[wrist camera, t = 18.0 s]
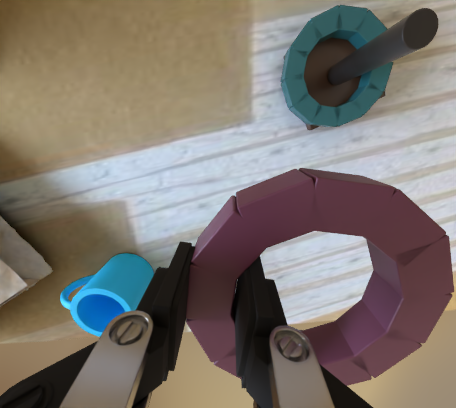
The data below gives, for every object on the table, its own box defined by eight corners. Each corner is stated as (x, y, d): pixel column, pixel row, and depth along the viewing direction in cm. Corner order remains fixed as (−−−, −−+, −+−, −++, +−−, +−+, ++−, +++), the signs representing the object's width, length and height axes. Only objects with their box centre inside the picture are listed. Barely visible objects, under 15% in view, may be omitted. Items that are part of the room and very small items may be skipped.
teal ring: (268, 45, 24) (271, 38, 22) (368, -5, 22) (381, -18, 20) (298, 140, 27) (303, 141, 25) (387, 102, 25) (400, 100, 23)
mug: (152, 253, 34) (128, 289, 27) (156, 295, 37) (136, 338, 29) (77, 251, 34) (33, 286, 27) (87, 293, 37) (49, 335, 29)
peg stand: (283, 57, 25) (331, -13, 13) (359, 17, 24) (492, -104, 12) (307, 130, 28) (366, 128, 16) (377, 97, 27) (502, 67, 14)
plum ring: (154, 224, 10) (137, 246, 8) (393, 128, 9) (439, 128, 7) (240, 373, 13) (242, 413, 11) (424, 321, 12) (461, 357, 10)
